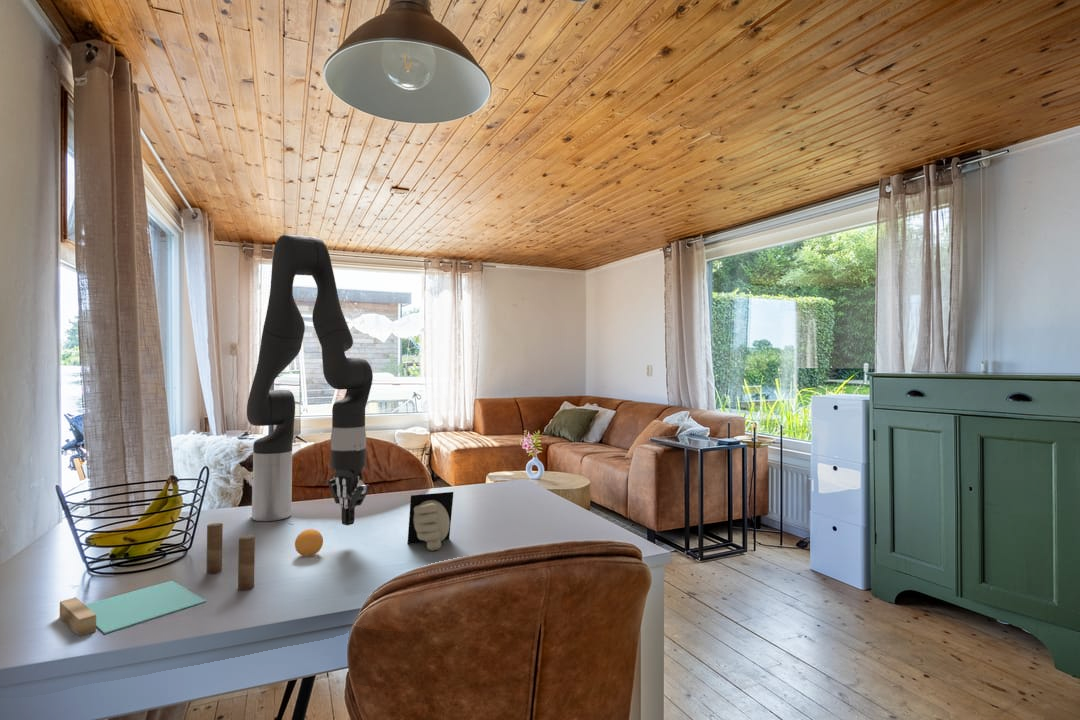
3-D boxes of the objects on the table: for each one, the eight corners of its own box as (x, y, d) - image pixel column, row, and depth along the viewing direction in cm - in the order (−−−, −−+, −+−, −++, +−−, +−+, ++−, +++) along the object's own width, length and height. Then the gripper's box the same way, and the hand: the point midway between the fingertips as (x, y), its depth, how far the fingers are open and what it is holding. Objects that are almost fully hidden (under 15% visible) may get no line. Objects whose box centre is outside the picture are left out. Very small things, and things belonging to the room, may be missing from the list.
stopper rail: (59, 617, 87) (59, 601, 87) (75, 612, 89) (75, 597, 89) (79, 636, 81) (79, 619, 81) (96, 631, 83) (96, 614, 83)
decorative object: (456, 557, 122) (413, 563, 118) (446, 532, 131) (405, 537, 127) (461, 508, 119) (416, 512, 115) (450, 486, 128) (408, 489, 124)
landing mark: (75, 608, 90) (75, 607, 90) (172, 581, 102) (172, 580, 102) (104, 634, 82) (104, 632, 82) (205, 601, 94) (205, 600, 94)
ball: (289, 556, 116) (289, 530, 116) (313, 549, 120) (313, 524, 120) (303, 562, 112) (304, 535, 112) (328, 554, 117) (328, 528, 117)
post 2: (235, 588, 99) (235, 538, 99) (249, 583, 101) (250, 534, 101) (242, 591, 98) (242, 541, 98) (256, 587, 100) (257, 537, 100)
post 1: (204, 571, 107) (204, 525, 107) (218, 567, 109) (218, 522, 109) (210, 574, 105) (210, 527, 105) (224, 570, 107) (225, 524, 107)
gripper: (316, 446, 125) (316, 523, 124) (351, 451, 117) (350, 533, 116) (345, 442, 131) (345, 516, 130) (380, 447, 123) (380, 525, 122)
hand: (348, 524), depth 123 cm, fingers closed
